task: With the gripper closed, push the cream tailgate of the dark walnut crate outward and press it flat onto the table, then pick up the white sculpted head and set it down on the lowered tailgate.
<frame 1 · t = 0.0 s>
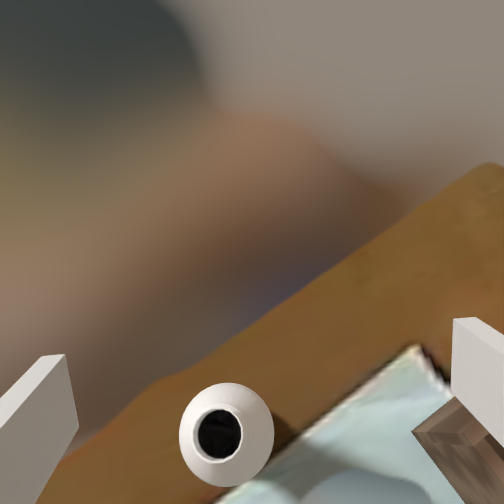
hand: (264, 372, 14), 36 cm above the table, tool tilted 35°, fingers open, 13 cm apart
water bottle: (236, 430, 46), on the table
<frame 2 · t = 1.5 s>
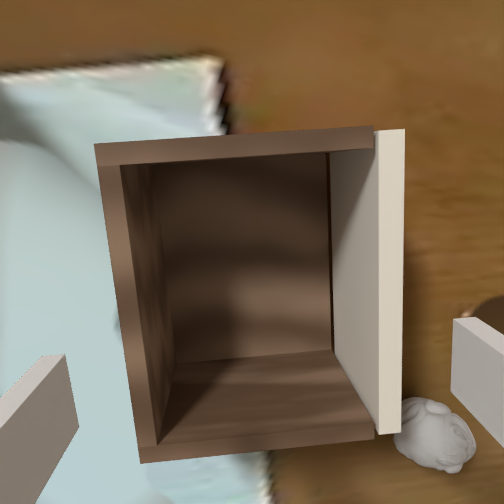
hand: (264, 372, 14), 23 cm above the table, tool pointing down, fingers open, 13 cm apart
crate: (240, 259, 37), on the table
white sculpted head: (409, 408, 41), on the table
tailgate: (361, 271, 30), point 7 cm above the table, hinge at 0.0°
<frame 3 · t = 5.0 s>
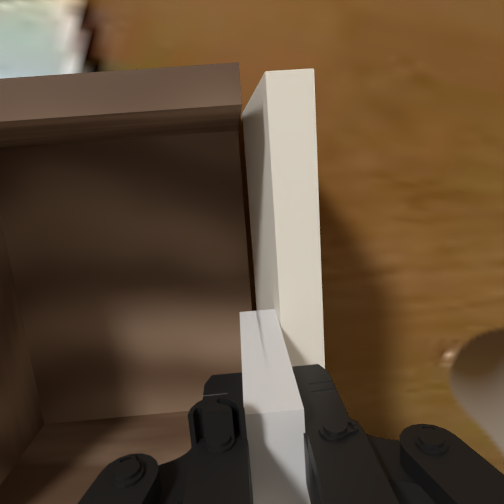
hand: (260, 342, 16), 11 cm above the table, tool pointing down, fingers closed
crate: (130, 281, 26), on the table
tailgate: (280, 307, 20), point 7 cm above the table, hinge at 2.6°, touching gripper
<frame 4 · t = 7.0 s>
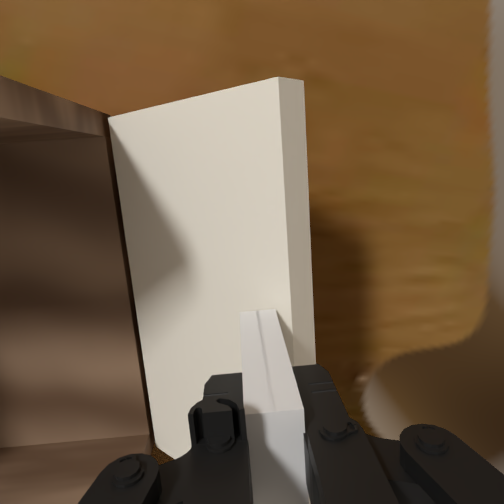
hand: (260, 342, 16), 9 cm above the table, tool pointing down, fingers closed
crate: (5, 300, 24), on the table
tailgate: (210, 311, 20), point 5 cm above the table, hinge at 46.4°, touching gripper
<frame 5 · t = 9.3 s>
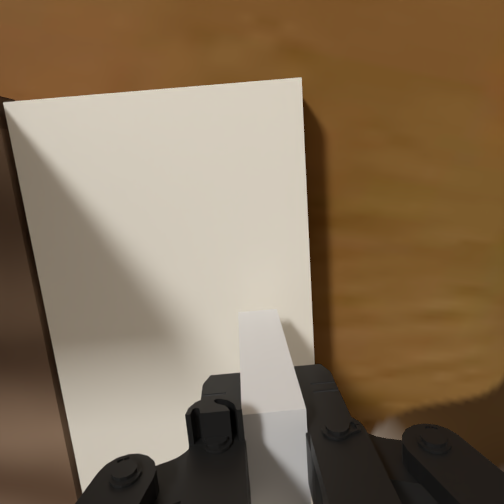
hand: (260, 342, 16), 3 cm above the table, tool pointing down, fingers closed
tailgate: (184, 328, 18), point 1 cm above the table, hinge at 87.6°
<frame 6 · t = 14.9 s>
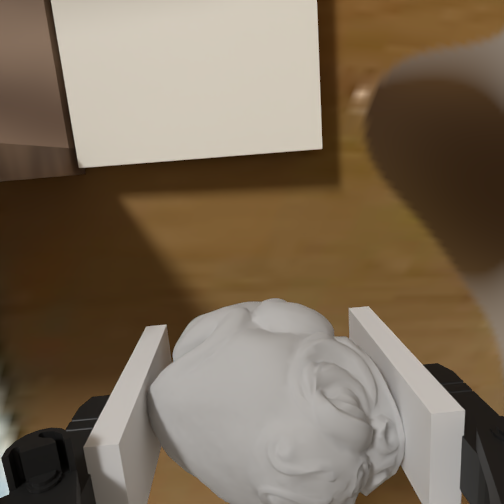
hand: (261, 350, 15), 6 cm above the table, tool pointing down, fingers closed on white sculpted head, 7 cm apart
white sculpted head: (258, 343, 16), point 6 cm above the table, touching gripper
when the fingers open (2 cm above the table, at t = 19.0 s): white sculpted head stays where it is, resting on tailgate.
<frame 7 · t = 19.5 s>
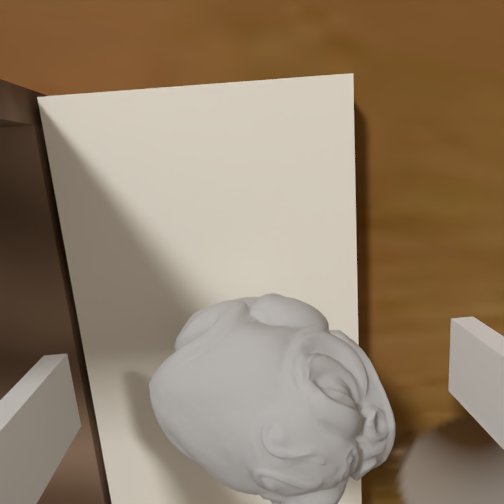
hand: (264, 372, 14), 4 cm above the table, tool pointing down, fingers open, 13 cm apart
white sculpted head: (258, 337, 17), point 1 cm above the table, touching tailgate
tailgate: (222, 334, 17), point 1 cm above the table, hinge at 89.5°, touching white sculpted head
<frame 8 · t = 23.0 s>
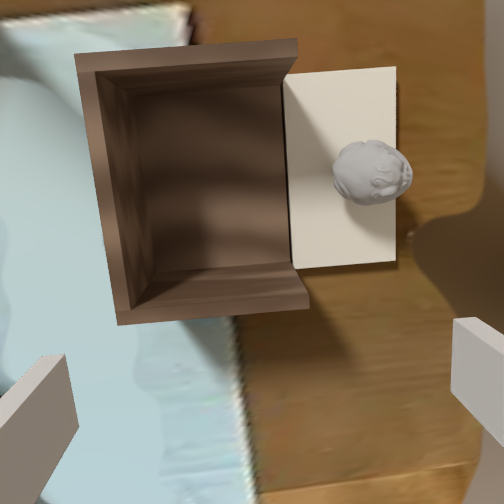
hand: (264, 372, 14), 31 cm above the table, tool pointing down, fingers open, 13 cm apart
crate: (210, 182, 42), on the table
white sculpted head: (355, 171, 42), point 1 cm above the table, touching tailgate
tailgate: (340, 172, 42), point 1 cm above the table, hinge at 89.5°, touching white sculpted head
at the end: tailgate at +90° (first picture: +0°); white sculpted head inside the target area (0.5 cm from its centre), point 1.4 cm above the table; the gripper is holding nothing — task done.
